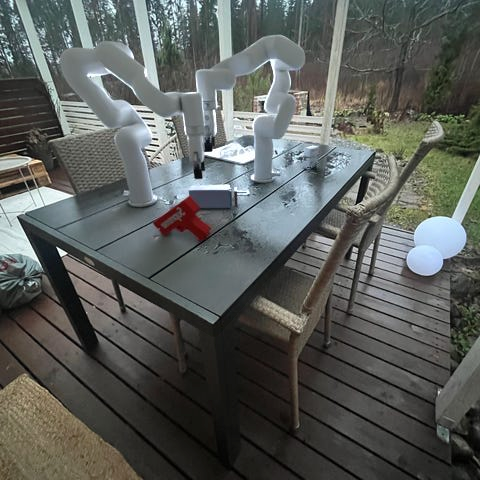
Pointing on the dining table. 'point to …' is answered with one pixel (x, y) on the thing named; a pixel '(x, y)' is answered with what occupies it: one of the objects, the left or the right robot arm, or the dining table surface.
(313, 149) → the ink box
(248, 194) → the drawer
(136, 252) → the dining table surface
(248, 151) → the relief map
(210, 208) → the cabinet
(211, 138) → the right robot arm
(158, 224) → the toy gun
